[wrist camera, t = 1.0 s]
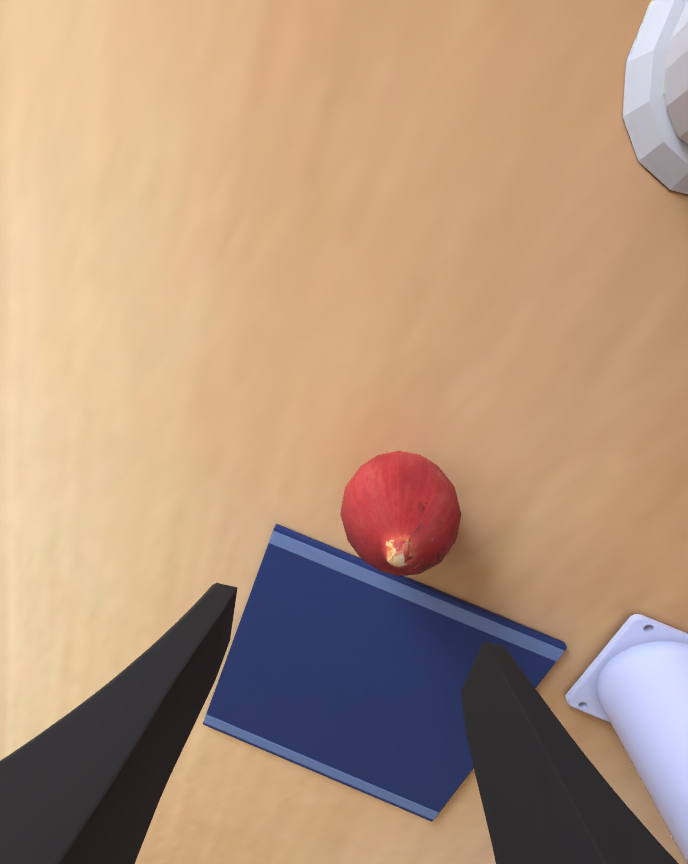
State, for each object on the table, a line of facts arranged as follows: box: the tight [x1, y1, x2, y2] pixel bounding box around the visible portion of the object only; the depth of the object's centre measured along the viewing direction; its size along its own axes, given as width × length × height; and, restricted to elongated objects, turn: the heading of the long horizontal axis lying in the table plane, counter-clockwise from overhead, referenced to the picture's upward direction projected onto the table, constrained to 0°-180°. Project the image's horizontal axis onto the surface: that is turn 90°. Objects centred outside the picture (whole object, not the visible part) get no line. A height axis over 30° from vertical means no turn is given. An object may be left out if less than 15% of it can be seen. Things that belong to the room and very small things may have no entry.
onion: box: [341, 451, 461, 576], centre depth 18 cm, size 6×6×8 cm
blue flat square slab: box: [203, 524, 567, 821], centre depth 26 cm, size 20×20×1 cm
